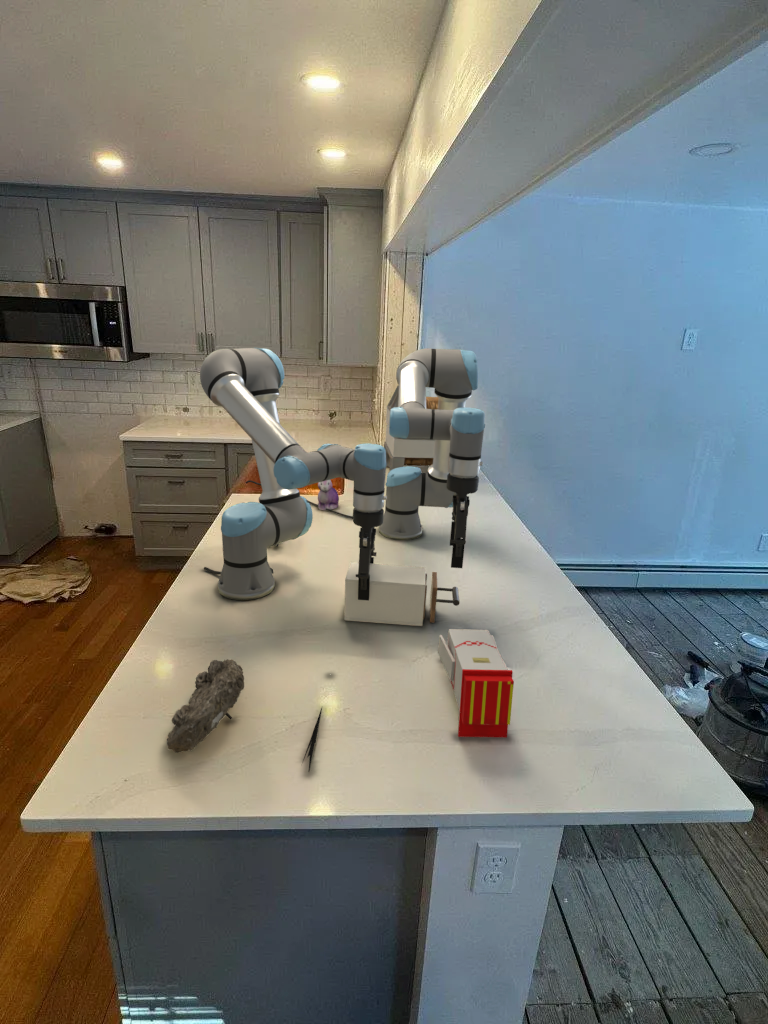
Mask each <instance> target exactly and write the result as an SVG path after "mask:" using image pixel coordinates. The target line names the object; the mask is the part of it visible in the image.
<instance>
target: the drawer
mask: <svg viewBox="0 0 768 1024" xmlns="http://www.w3.org/2000/svg"><path fill="white" fill-rule="evenodd" d="M427 579H428V573H426V582H427ZM430 582H431V584H430V594H429V623H433V624H435V621H436V611H437V610H436V609H437V603H446V604H452V605H453V606H456V607H458V606H459V605H460V603H461V601H460V595H459V588H458V587H457V586H452V587H451V588H450V587H449V588H447V587H438V572H437V571H432V572H431V581H430ZM427 591H428V585H427V584H426V585H425V598H424V611H423V620H425V617H426V603H427ZM438 591H439V592H451V596H452V599H440V598H438Z"/></svg>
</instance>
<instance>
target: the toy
mask: <svg viewBox="0 0 768 1024" xmlns="http://www.w3.org/2000/svg"><path fill="white" fill-rule="evenodd" d="M446 640H447V643H446V641H445V639H444V636H443V635H442V634H439V637H438V646H437V656H438V657H439V659H440V661H441V663H442V666H443V668H444V670H445V672H446V674H447V677H448V679H449V681H450V684H451V687H452V690H453V693H454V697H455V701H456V705H457V708H458V711H459V714H458V715H459V716H458V730H457V731H458V732H457V737H458V738H508V731H509V726H510V725H511V717H512V707H513V697H514V696H513V695H514V684H515V680H514V679H513V673H514V671H513V670H512V669H508V667H507V665H506V662H505V661H504V659H503V658H502V655H501V653H500V651H499V649H498V647H497V643H496V639H495V637H494V635H493V634H491V632H490V631H489V629H467V628H466V629H465V628H463V629H461V628H460V629H459V628H448V630H447V639H446Z"/></svg>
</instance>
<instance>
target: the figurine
mask: <svg viewBox="0 0 768 1024" xmlns="http://www.w3.org/2000/svg"><path fill="white" fill-rule="evenodd" d="M317 487H318V490H319V491H318V493H317V502H318V503H317V505H318V506H319V507H317V508H318V510H321V511H327V510H326V508H327V509H330V510H334V509H337V508H338V506H339V500H340V497H339V493H338V491H337V489H336V488H334V487H333V483H332V479H330V480H327V481H323V482H318V483H317Z"/></svg>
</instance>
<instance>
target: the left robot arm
mask: <svg viewBox="0 0 768 1024" xmlns="http://www.w3.org/2000/svg"><path fill="white" fill-rule="evenodd" d="M284 379H285V369H284V365H283V363H282V361H281V359H280V358H279V356H278V355H277V354H276V353H275V352H273V351H272V350H271V349H269V348H263V347H262V348H261V347H243V348H220V349H217V350H214V351H212V352H211V353H210V354H208V355H207V356H206V357H205V359H204V360H203V361H202V364H201V366H200V370H199V381H200V384H201V388H202V390H203V392H204V394H205V395H206V396H207V398H208V399H209V400H210V401H211V402H212V404H214V405H215V406H217V407H222V409H224V411H226V413H227V414H228V415H229V416H230V417H231V418H232V419H233V421H235V423H237V424H238V426H239V427H240V428H241V429H242V430H243V431H244V432H245V434H247V436H248V437H249V438H250V439H251V443H252V448H253V453H254V457H255V462H256V467H257V473H258V476H259V481H260V484H261V485H260V486H261V491H262V492H261V494H260V495H259V497H258V502H257V501H248V502H239V503H236V504H234V505H231V506H229V507H228V508H227V509H225V510H224V512H222V515H221V521H220V522H221V524H220V525H221V526H220V531H221V532H220V533H221V541H222V542H221V543H222V558H223V559H222V560H223V563H222V567H221V570H220V571H219V570H213V569H211V568H209V567H207V566H204V567H203V570H204V571H207V572H209V573H211V574H214V575H218V576H219V578H218V581H217V587H218V588H217V590H218V593H219V594H220V596H222V597H224V598H227V599H229V600H235V601H251V600H255V599H261V598H263V597H265V596H268V595H269V594H271V593H272V592H273V591H274V589H275V586H276V584H275V577H274V575H273V574H274V569H273V568H272V567H271V566H270V564H269V562H268V561H269V560H268V549H269V548H270V547H274V546H276V545H277V544H279V545H280V544H283V543H285V542H288V541H292V540H296V539H298V538H299V537H301V536H303V535H305V534H307V533H308V532H309V529H311V527H312V524H313V518H314V517H313V515H314V514H313V509H312V506H311V504H310V503H308V502H307V500H308V499H307V498H306V497H305V496H303V495H301V493H300V492H301V491H300V490H299V489H301V488H305V487H307V486H311V485H314V484H318V483H319V482H323V481H327V480H334V479H338V478H341V479H345V480H348V481H353V490H352V492H353V494H352V498H353V499H352V506H353V509H352V517H353V519H352V523H353V524H354V525H355V526H357V527H360V528H359V531H358V538H359V541H358V542H359V543H358V548H359V552H358V553H359V554H358V562H359V570H358V574H356V577H358V578H359V580H358V600H368V601H369V587H370V574H369V570H370V563H374V562H375V557H377V554H378V553H377V552H376V551H375V550H376V548H375V541H376V535H377V527H378V528H379V526H380V525H382V524H383V518H384V513H385V509H383V508H385V501H386V499H387V496H386V495H385V493H386V490H385V489H386V488H385V487H386V472H387V466H386V465H387V463H386V450H385V448H384V445H381V444H378V443H368V442H367V443H366V442H365V443H359V444H357V445H355V447H354V448H350V447H347V446H343V445H341V444H338V443H324V444H322V445H321V446H320V447H318V449H316V450H312V451H308V452H307V451H306V450H305V449H304V448H303V447H302V446H301V445H300V444H299V443H298V442H297V441H296V439H294V437H293V436H292V435H291V434H290V433H289V432H288V431H287V430H286V429H285V428H284V427H283V426H282V424H281V422H280V417H279V412H278V408H277V403H276V402H277V399H278V398H279V397H280V389H281V388H282V386H283V384H284ZM374 564H375V563H374Z"/></svg>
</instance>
